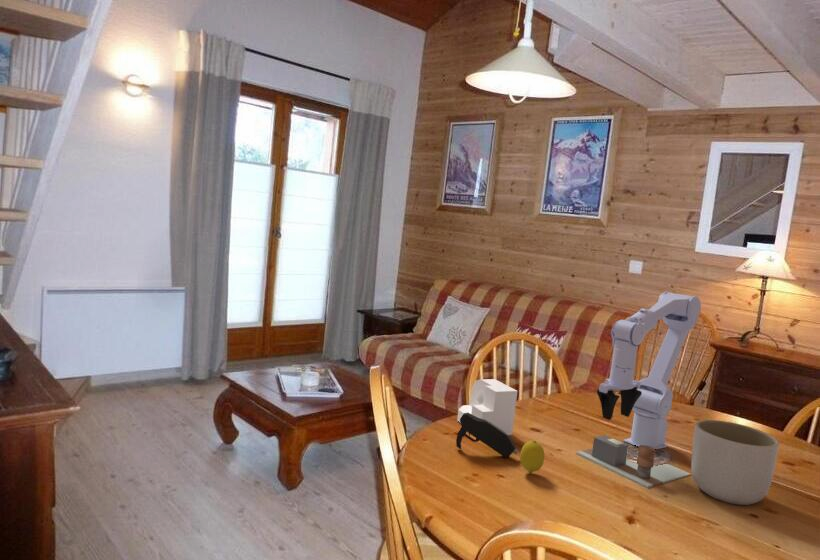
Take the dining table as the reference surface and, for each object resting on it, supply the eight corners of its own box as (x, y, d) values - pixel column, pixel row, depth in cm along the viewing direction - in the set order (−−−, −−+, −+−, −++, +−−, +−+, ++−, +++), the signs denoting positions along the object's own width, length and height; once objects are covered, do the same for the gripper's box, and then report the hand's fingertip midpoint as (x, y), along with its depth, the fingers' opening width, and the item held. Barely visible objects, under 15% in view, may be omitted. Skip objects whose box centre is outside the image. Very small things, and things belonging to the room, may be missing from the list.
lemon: (543, 471, 140) (547, 439, 139) (540, 480, 135) (544, 446, 134) (520, 466, 142) (524, 434, 141) (516, 474, 137) (520, 441, 136)
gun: (500, 478, 146) (522, 446, 144) (446, 441, 148) (467, 409, 146) (501, 473, 149) (523, 442, 147) (447, 437, 151) (468, 405, 149)
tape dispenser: (512, 434, 163) (517, 390, 162) (479, 437, 159) (485, 392, 158) (481, 415, 178) (486, 374, 177) (451, 417, 173) (456, 375, 172)
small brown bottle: (644, 472, 144) (648, 445, 143) (655, 479, 140) (659, 451, 140) (631, 473, 143) (635, 445, 142) (642, 480, 139) (646, 451, 139)
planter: (768, 521, 125) (779, 453, 124) (681, 495, 134) (691, 431, 133) (769, 494, 140) (779, 433, 138) (691, 472, 149) (699, 414, 147)
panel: (619, 445, 164) (619, 443, 164) (690, 476, 146) (690, 473, 146) (576, 454, 153) (576, 451, 153) (647, 488, 136) (647, 486, 136)
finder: (602, 453, 154) (605, 433, 154) (625, 464, 148) (628, 443, 148) (591, 456, 151) (594, 435, 151) (614, 466, 146) (617, 445, 145)
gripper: (627, 361, 160) (620, 409, 162) (592, 364, 152) (585, 414, 153) (650, 367, 154) (642, 417, 156) (615, 371, 146) (608, 423, 148)
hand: (616, 417), depth 154 cm, fingers open, 7 cm apart
